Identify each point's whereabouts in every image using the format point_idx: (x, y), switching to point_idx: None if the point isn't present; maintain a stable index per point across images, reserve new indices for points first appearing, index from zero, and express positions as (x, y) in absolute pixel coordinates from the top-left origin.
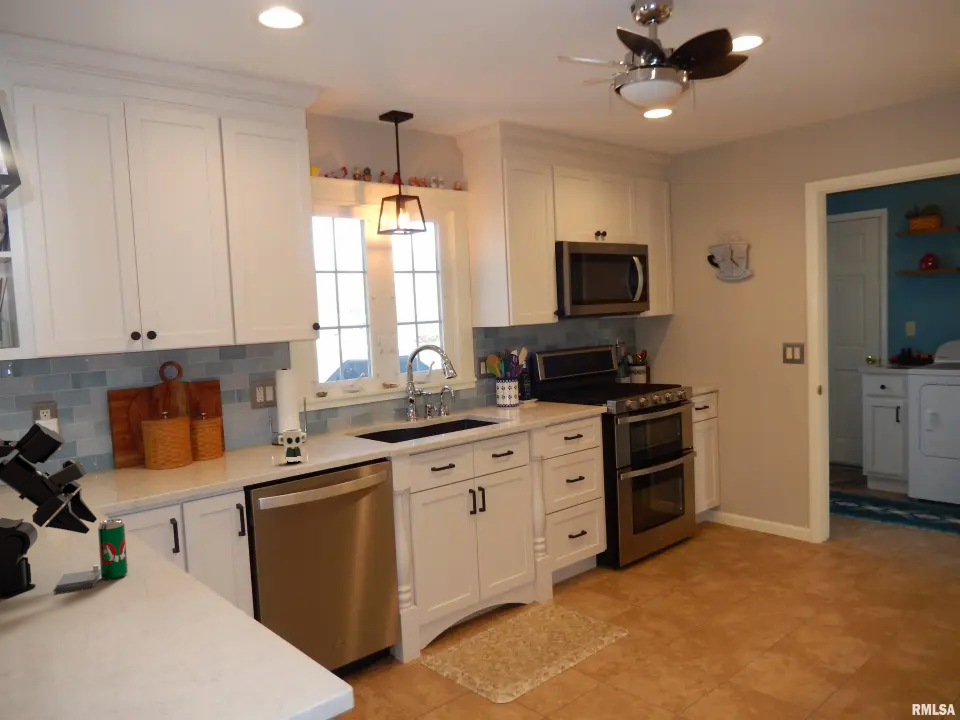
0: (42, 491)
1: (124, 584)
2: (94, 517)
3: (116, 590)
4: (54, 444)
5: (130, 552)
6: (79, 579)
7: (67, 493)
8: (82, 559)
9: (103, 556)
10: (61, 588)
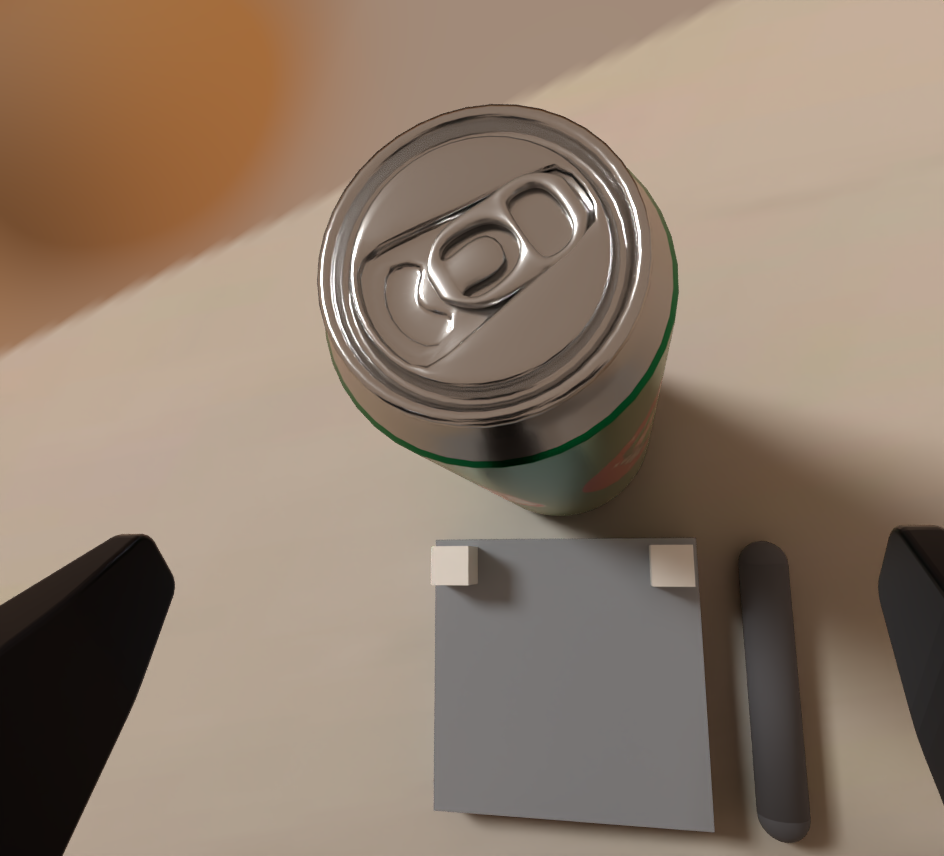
0: None
1: (786, 330)
2: (123, 563)
3: (915, 360)
4: None
5: (57, 418)
6: (635, 662)
7: None
8: None
9: (636, 454)
10: (800, 779)
